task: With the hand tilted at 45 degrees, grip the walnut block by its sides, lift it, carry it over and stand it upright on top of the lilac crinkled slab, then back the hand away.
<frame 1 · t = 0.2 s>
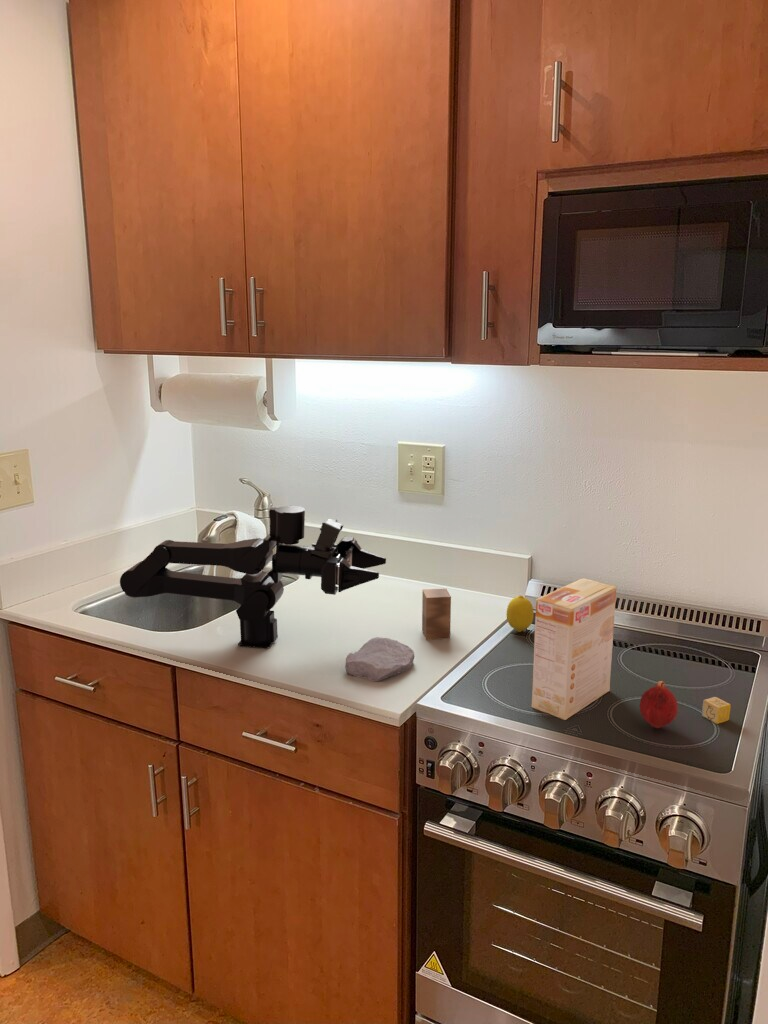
hand: (382, 568, 157), 17 cm above the countertop, tool horizontal, fingers open, 9 cm apart
walnut block: (435, 634, 168), on the countertop
coffeecake box: (571, 700, 140), on the countertop
onion: (656, 729, 130), on the countertop
lilac crinkled slab: (382, 670, 153), on the countertop
lemon: (519, 632, 169), on the countertop
alphabet block: (715, 719, 134), on the countertop
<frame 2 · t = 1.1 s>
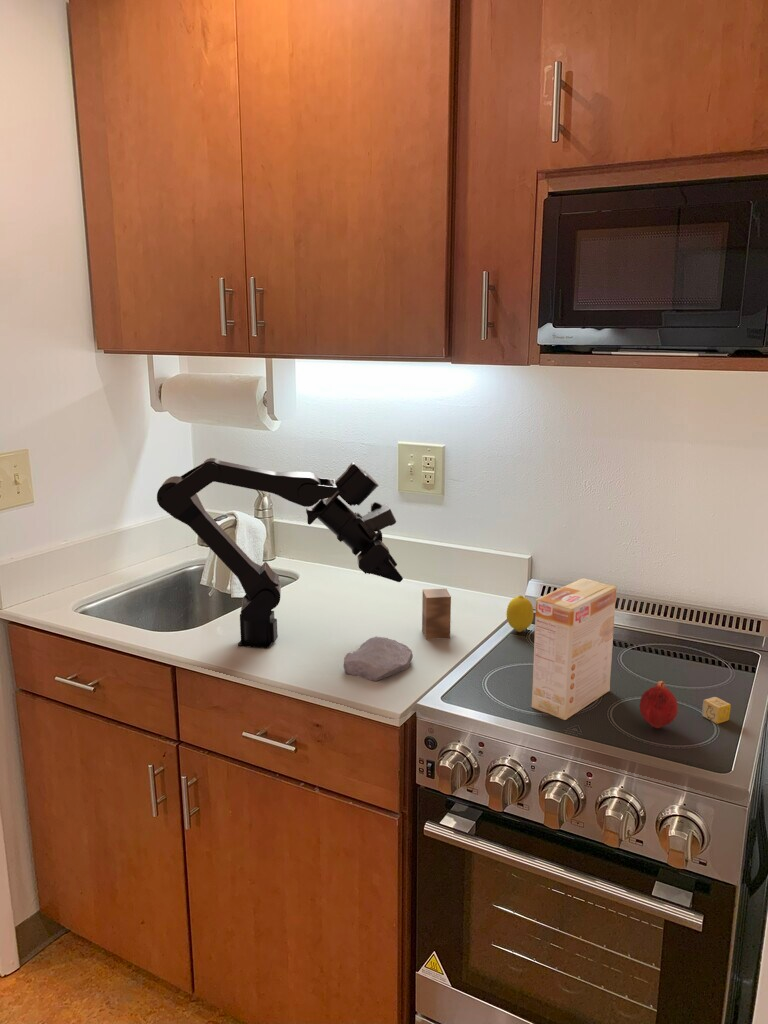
hand: (398, 573, 164), 14 cm above the countertop, tool tilted 45°, fingers open, 9 cm apart
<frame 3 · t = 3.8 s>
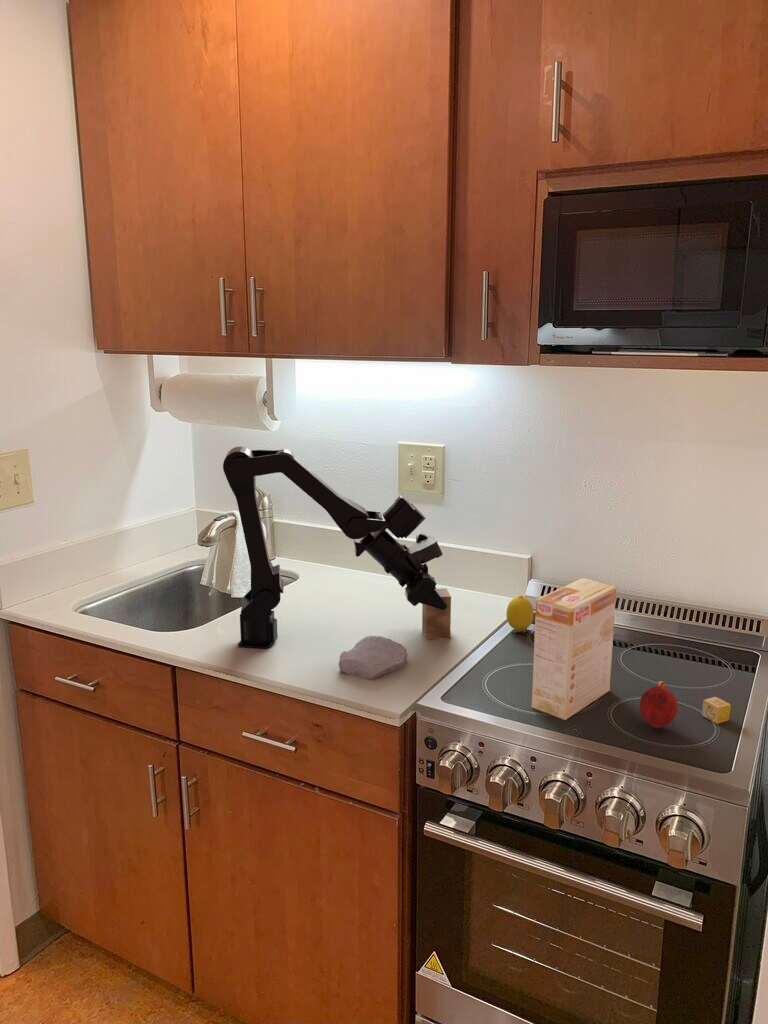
hand: (443, 603, 167), 7 cm above the countertop, tool tilted 45°, fingers closed on walnut block, 5 cm apart
walnut block: (436, 634, 168), on the countertop, touching gripper
lilac crinkled slab: (375, 668, 153), on the countertop
everything else where it was.
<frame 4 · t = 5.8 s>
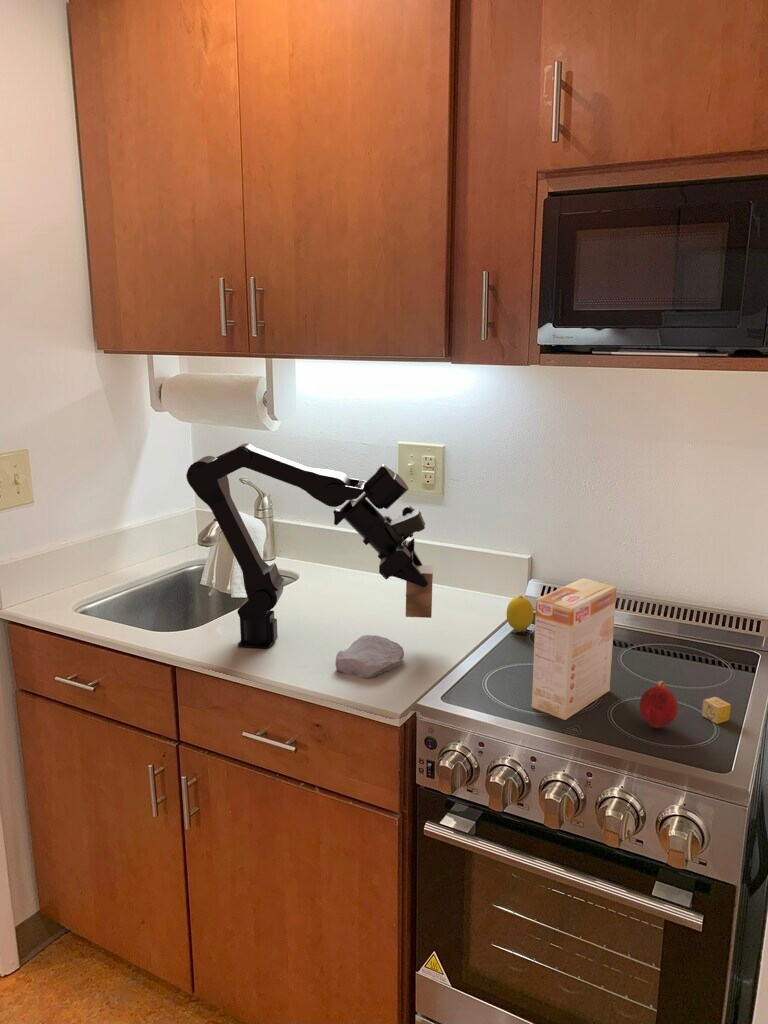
hand: (426, 581, 159), 14 cm above the countertop, tool tilted 45°, fingers closed on walnut block, 5 cm apart
walnut block: (418, 612, 160), point 7 cm above the countertop, touching gripper
when the fingers open (11 cm above the countertop, at t = 7.6 s): walnut block stays where it is, point 4 cm above the countertop.
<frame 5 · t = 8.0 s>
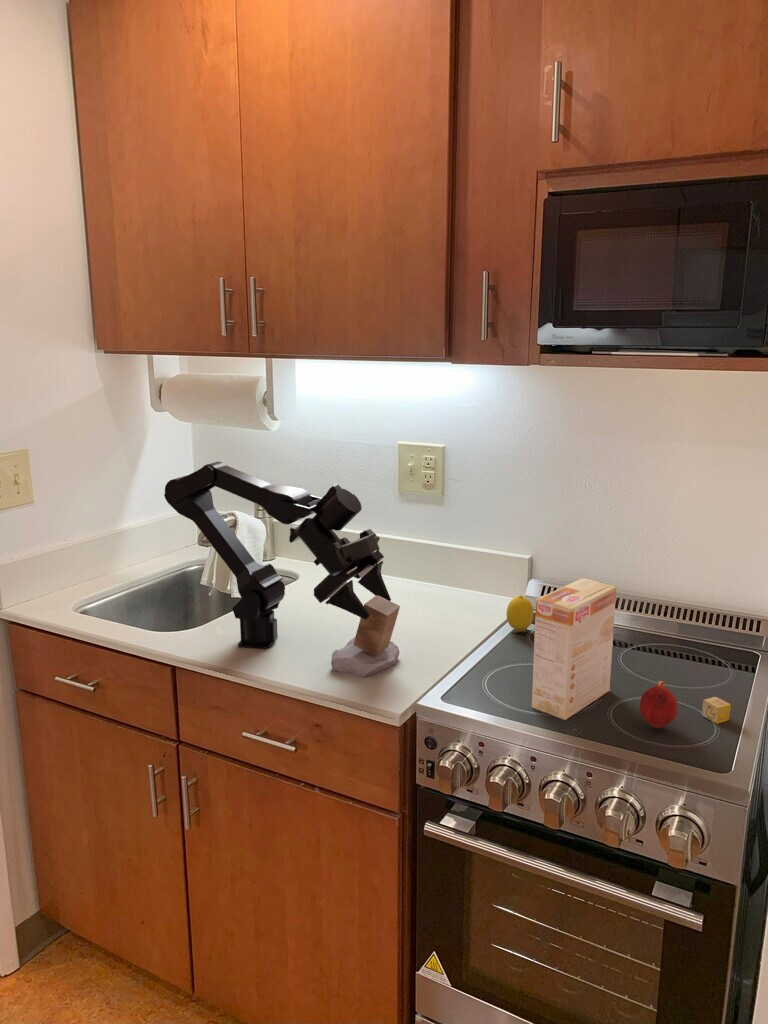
hand: (378, 609, 150), 11 cm above the countertop, tool tilted 45°, fingers open, 9 cm apart
walnut block: (371, 645, 153), point 4 cm above the countertop, tilted 17°
lilac crinkled slab: (367, 666, 154), on the countertop
everything else where it was.
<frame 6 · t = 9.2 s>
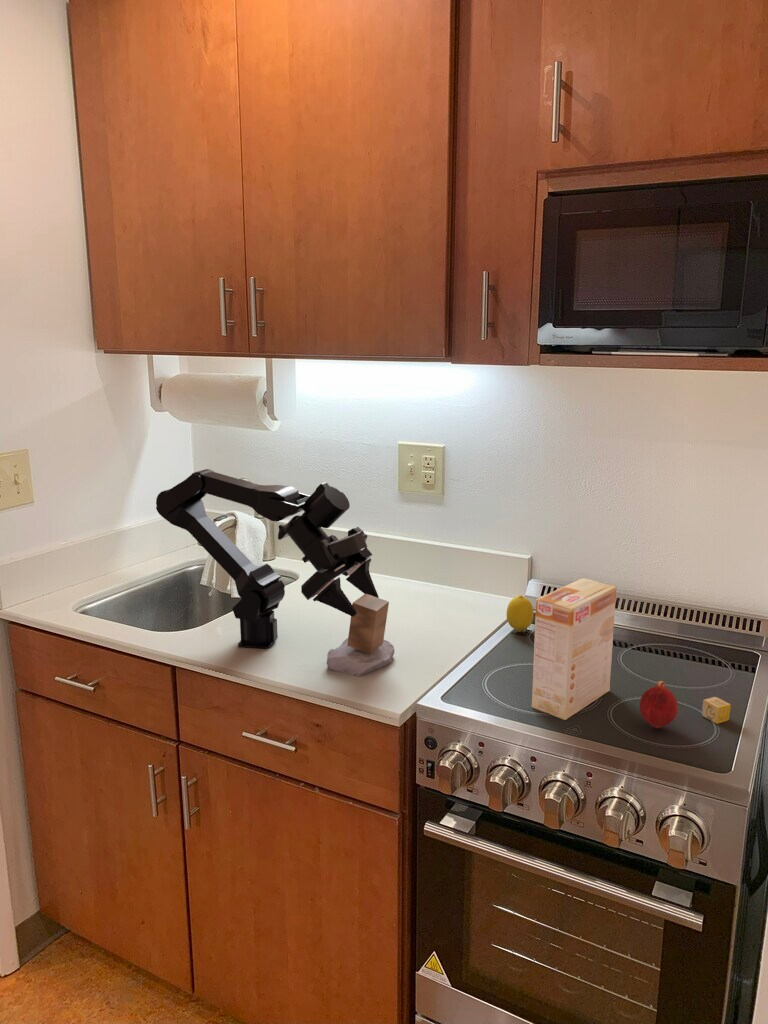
hand: (366, 606, 152), 11 cm above the countertop, tool tilted 45°, fingers open, 9 cm apart
walnut block: (365, 644, 153), point 4 cm above the countertop, tilted 10°, touching lilac crinkled slab
lilac crinkled slab: (363, 665, 155), on the countertop, touching walnut block
everything else where it was.
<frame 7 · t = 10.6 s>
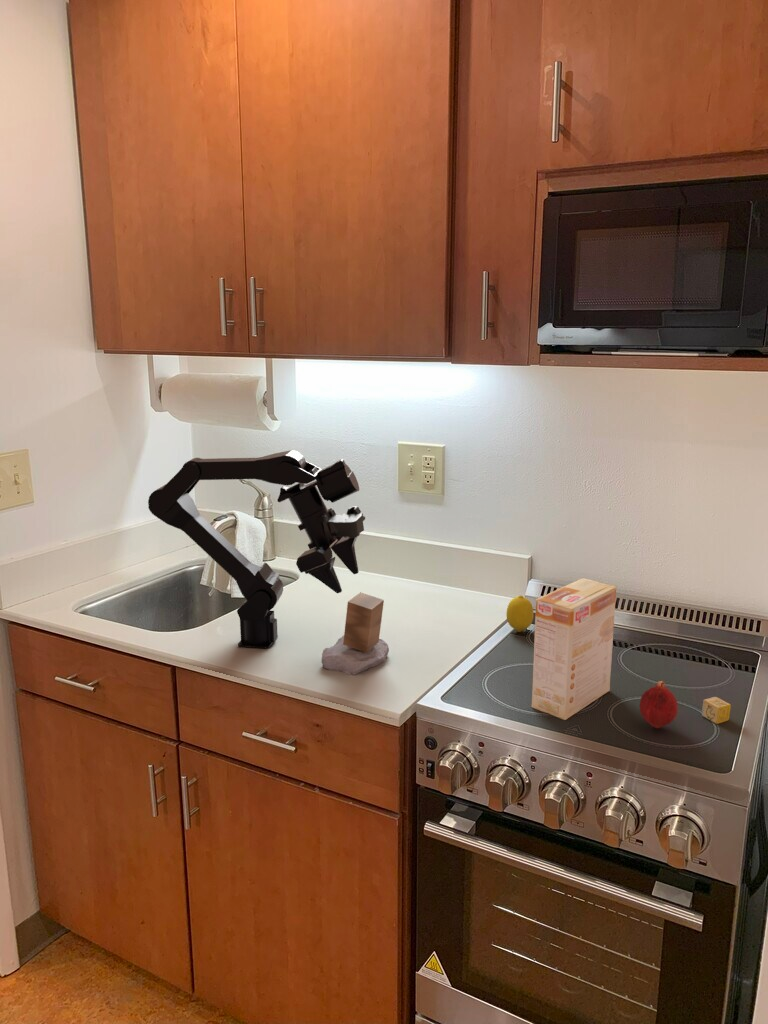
hand: (348, 582, 159), 13 cm above the countertop, tool tilted 25°, fingers open, 9 cm apart
walnut block: (361, 643, 154), point 4 cm above the countertop, tilted 9°, touching lilac crinkled slab
lilac crinkled slab: (357, 664, 155), on the countertop, touching walnut block
everything else where it was.
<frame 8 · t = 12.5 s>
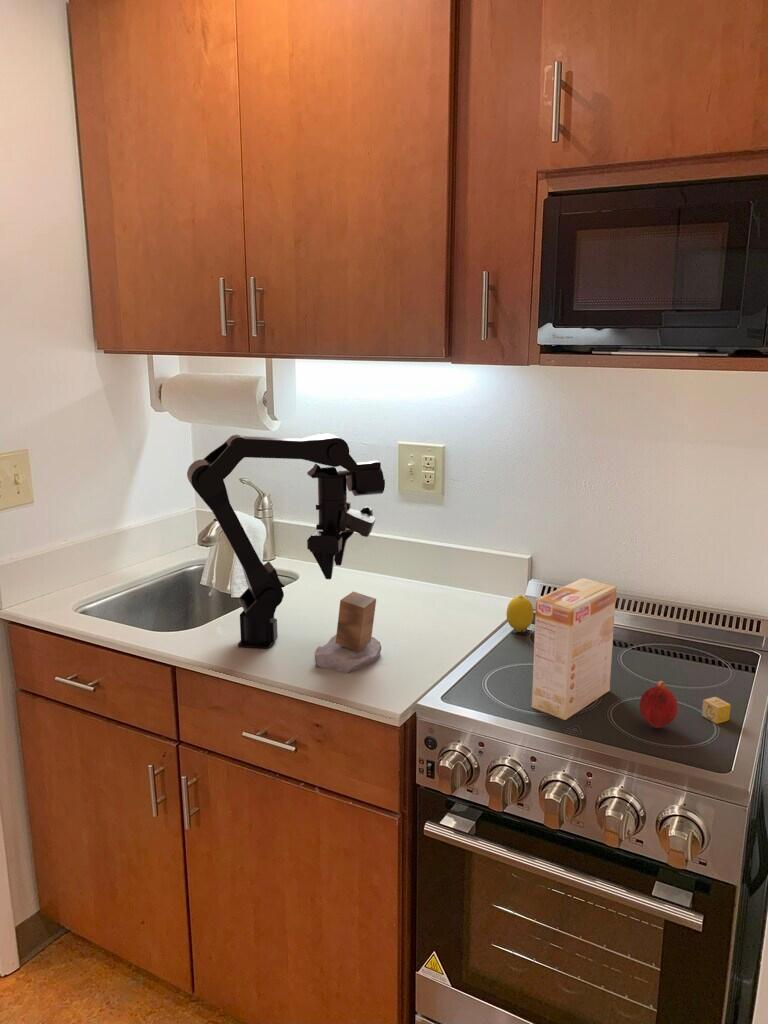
hand: (333, 572, 167), 13 cm above the countertop, tool pointing down, fingers open, 9 cm apart
walnut block: (353, 642, 155), point 4 cm above the countertop, tilted 8°, touching lilac crinkled slab
lilac crinkled slab: (350, 662, 156), on the countertop, touching walnut block
everything else where it was.
at the end: walnut block inside the target area on the lilac crinkled slab (0.7 cm from its centre), point 4.3 cm above the lilac crinkled slab's base; walnut block tilted 8°; the gripper is holding nothing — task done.
